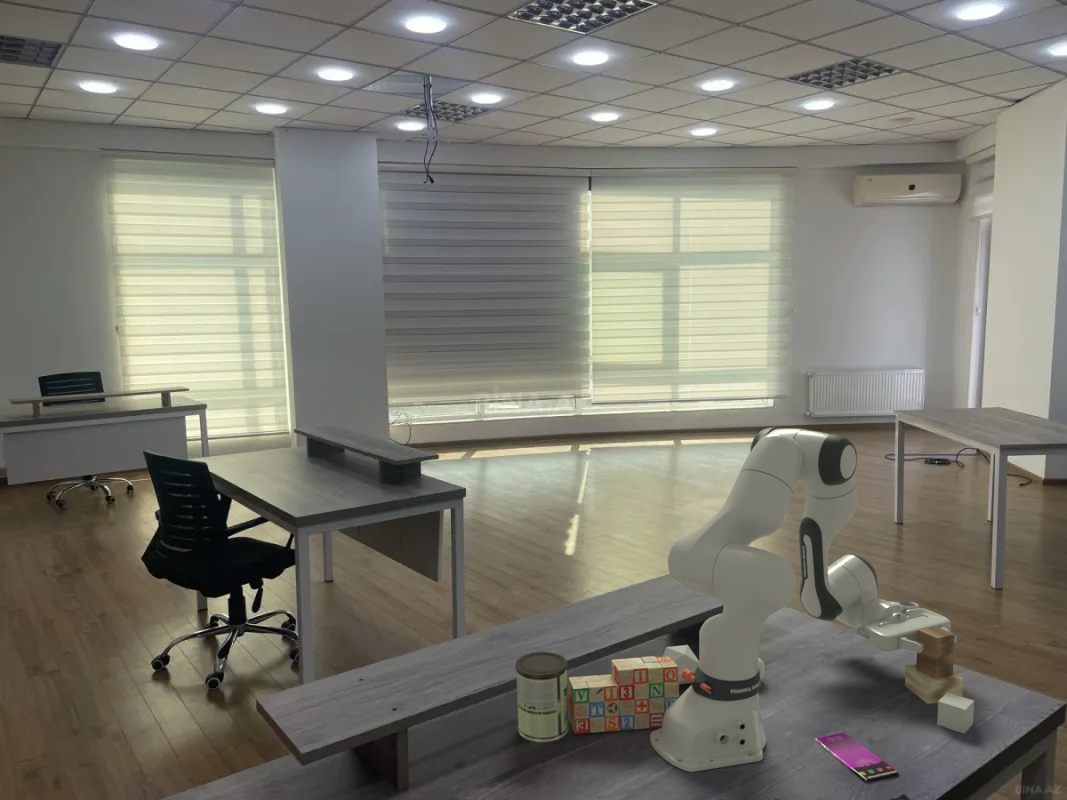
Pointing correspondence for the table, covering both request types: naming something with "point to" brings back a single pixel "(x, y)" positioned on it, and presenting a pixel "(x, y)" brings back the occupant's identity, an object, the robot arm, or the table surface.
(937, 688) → the oak block
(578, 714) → the stack of blocks
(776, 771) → the table surface
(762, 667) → the white sphere
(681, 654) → the white polyhedron
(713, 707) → the robot arm
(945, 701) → the grey cube
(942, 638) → the walnut block
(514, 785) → the table surface
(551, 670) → the coffee can
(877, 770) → the smartphone
